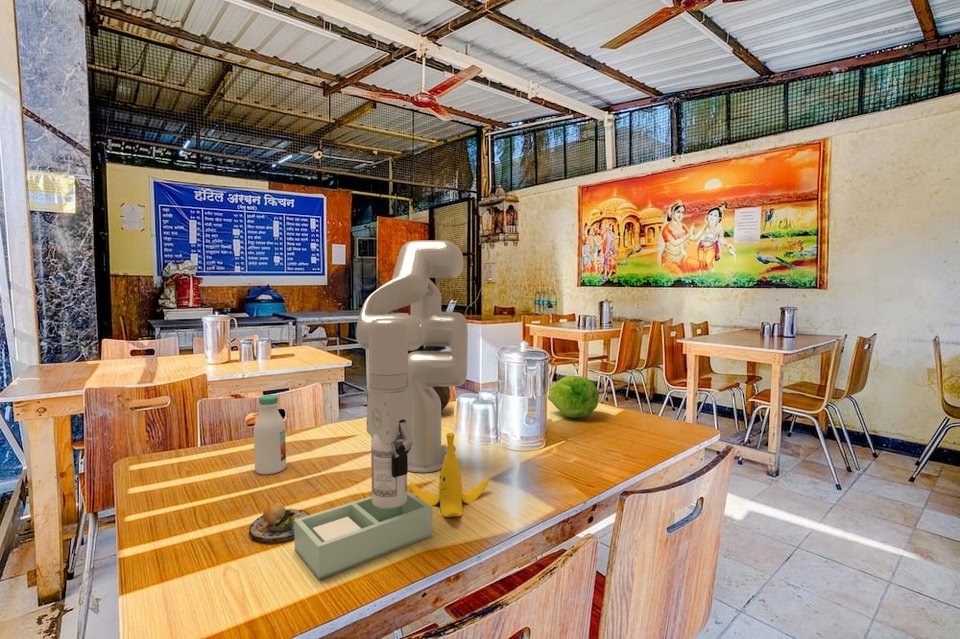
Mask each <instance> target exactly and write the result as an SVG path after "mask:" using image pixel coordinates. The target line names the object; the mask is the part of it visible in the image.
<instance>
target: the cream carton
mask: <svg viewBox="0 0 960 639" xmlns="http://www.w3.org/2000/svg"><path fill="white" fill-rule="evenodd" d="M359 529H361V528H360V527H359V526H358V525H357V524H356V523H354V522H353V521H352V520H351V519H350V518H349V517H345V518H342V519H339V520H336V521H333V522H329V523H326V524H323V525H320V526H317V527H314V528H312V532H313V533H314V534H315V535H316V537H317V538H318V539H319V540H320V541H321V542H325V541H327V540H330V539H333V538H336V537H339V536H342V535H345V534H348V533H350V532H353V531H356V530H359Z"/></svg>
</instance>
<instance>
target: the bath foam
mask: <svg viewBox="0 0 960 639" xmlns="http://www.w3.org/2000/svg"><path fill="white" fill-rule="evenodd" d="M398 439H401V436H399V437H397V438H396V440H398ZM371 440H372V443H371V445H370V450H371V451H370V455H371V456H370V458H371V461H370V463H371V465H370V467H371V496H372V503H373V505H374V506H376V507H378V508H381V509H393V508H397V507H400V506H402V505H403V504H405V503H406V501H407V491H408V473H407V474H406V475H402V476H399V477H395V478H394V477H392V457H393V456H394V455H393V450H392V446H391V444H386V443H384V442H382V441H381V440H380V439H379V437H378V435H376V434H375V435H374V436H373V439H372V438H371ZM401 445H402V443H397V448H399V447H400V446H401Z"/></svg>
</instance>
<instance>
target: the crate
mask: <svg viewBox="0 0 960 639" xmlns="http://www.w3.org/2000/svg"><path fill="white" fill-rule="evenodd" d="M345 517H349V518H350V519H351V520H352V521H353V522H354V523H356V524H357V525H358V526H359V527H360V528H361V529H359V530H356V531H353V532H350V533H348V534H345V535H342V536H339V537H336V538H333V539H330V540H327V541H325V542H321V541H320V540H319V539H318V538H317V537H316V535H315V534H314V533H313V532H312V528H314V527H317V526H320V525H323V524H326V523H329V522H333V521H336V520H339V519H342V518H345ZM294 535H295V538H294V551H295V552H296V554H297V555H298V556H299V557H300V559H301V560H302V561H303V563H304V564H305V565H306V566H307V567H308V569H309V570H310V571H311V573H312V574H313V575H314V576H315V578H316V579H317V580H318V581H319V582H320V581H323V580H325V579H328V578H330V577H332V576H334V575H338V574H340V573H342V572H345V571H347V570H350V569H353V568H355V567H357V566H359V565H363V564H365V563H368V562H370V561H373V560H376V559H377V558H378V559H379V558H380V557H383V556H385V555H388V554H390V553H393V552H395V551H398V550H401V549H404V548H405V547H408V546H411V545H413V544H415V543H418V542H420V541H423V540H427V539H428V538H431V537H433V506H431V505H428V504H427V503H425V502H424V501H422V500H421V499H419V498H418V497H417V496H416V495H415V494H413V493H411V492H409V491H408V490H407V501H406V503H405V504H403V505H402V506H400V507H397V508H393V509H381V508H378V507H376V506H374V505H373V503H372V495H371V496H368V497H364V498H362V499H358V500H355V501H351V502H349V503H345V504H342V505H339V506H335V507H332V508H329V509H325V510H322V511H318V512H315V513H311V514H310V515H308V516H305V517H302V518H299V519H295V520H294Z"/></svg>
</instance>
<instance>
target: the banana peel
mask: <svg viewBox="0 0 960 639" xmlns="http://www.w3.org/2000/svg"><path fill="white" fill-rule="evenodd" d="M446 442H447V444H446V447H447V453H446V455H445V459H444V462H443V465H442V469H440V475H439V483H438V494H432V493H429V492H427V491H424V490H423V489H421V488H419V487H418V486H416V485H415V484H414V483H413V482H410V483H408V486H409V488H410V490H411V491H412V493H414V496H416V497H417V498H419V499H421V500H422V501H424V502H425V503H427V504H428V505H430V506H431V507H435V506H436V505H437V504H439V506H440V507H439V508H440V513H441V516H442V517H447V518H450V517H451V518H452V517H462V516H463V514H464V513H463V512H464V510H463V503H465V504H468V505H470V504H472V503H475V501H477V500H478V498H479V497H480V496H481V495H482V494H483V492H484V490H485V489H486V487H487V485H488V483H489V481H490V480H489V479H487V478H485V479H483V480H482V481H481V482H480V483H479V484H478V485H477V486H475V487H474V488H472V489H471V490H468V491H467V492H464V493H463V483H462V475H461V471H460V466H459V462H458V460H457V456H456V455H455V454H456V453H455V452H454V447H453V445H454V442H455V432H448V433H446Z"/></svg>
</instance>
